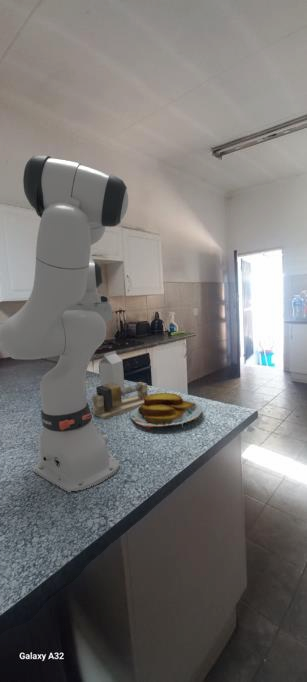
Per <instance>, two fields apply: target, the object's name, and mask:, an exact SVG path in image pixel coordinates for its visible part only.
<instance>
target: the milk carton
mask: <svg viewBox="0 0 307 682" xmlns="http://www.w3.org/2000/svg"><path fill="white" fill-rule="evenodd" d="M103 355H104V356H103V357H102V359H101V360H100V361H99V362H98V366H99V367H98V368H99V378H100V379H99V380H100V386H102V385H105V384H109V383H113V384H116V385H119V386H121V389H124V388H125V378H124V377H125V375H124V366H123V364H124V363H123V359H122V358H121V357H120V356H119V355H118V354H117V352H116V350H113V351H110V352H107V353H104V354H103Z"/></svg>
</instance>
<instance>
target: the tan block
mask: <svg viewBox="0 0 307 682" xmlns="http://www.w3.org/2000/svg"><path fill="white" fill-rule="evenodd" d="M102 386H105V387H107V388H110V389H111V392H112V404H113V407H115V406H118V405H121V404H122V400H123V399H122V396H121V386H119V385H116V384H113V383H109V384H105V385H102Z"/></svg>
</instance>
